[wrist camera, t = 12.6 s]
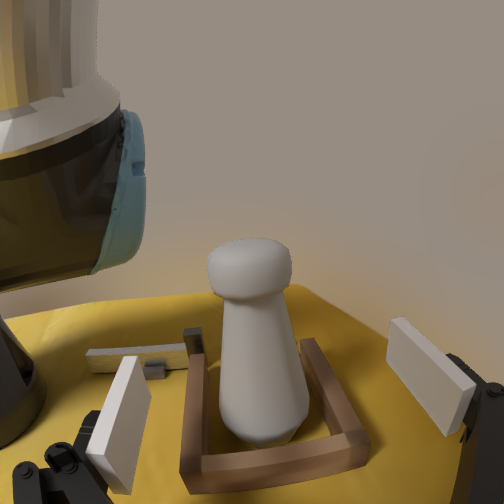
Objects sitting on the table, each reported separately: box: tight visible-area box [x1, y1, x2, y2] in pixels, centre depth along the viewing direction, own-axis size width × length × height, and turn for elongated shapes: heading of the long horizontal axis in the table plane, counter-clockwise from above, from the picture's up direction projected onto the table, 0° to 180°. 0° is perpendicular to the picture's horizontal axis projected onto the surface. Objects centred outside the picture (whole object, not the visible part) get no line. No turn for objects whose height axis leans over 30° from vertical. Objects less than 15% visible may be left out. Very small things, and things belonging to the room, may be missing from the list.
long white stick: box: [85, 327, 207, 373], centre depth 27 cm, size 12×1×3 cm, turn 96°
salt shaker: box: [207, 238, 310, 449], centre depth 18 cm, size 6×6×13 cm
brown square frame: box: [142, 338, 371, 494], centre depth 22 cm, size 15×16×2 cm
